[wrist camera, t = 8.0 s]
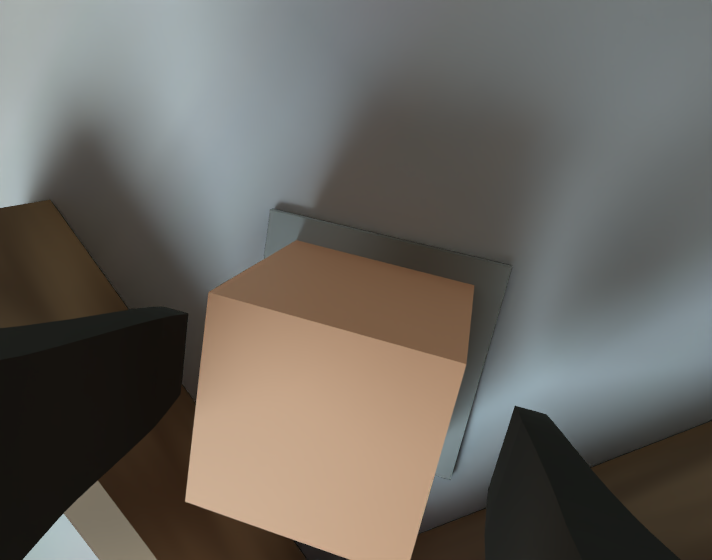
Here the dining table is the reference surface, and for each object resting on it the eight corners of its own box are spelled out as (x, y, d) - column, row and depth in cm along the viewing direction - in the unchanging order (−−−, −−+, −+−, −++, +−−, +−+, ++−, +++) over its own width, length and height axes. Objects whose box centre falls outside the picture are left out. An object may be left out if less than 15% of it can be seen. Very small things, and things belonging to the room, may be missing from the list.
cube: (270, 395, 15) (184, 501, 11) (296, 240, 14) (208, 291, 9) (430, 444, 14) (404, 579, 10) (474, 285, 13) (466, 364, 9)
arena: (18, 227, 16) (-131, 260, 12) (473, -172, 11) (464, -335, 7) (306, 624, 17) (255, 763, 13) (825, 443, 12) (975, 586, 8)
